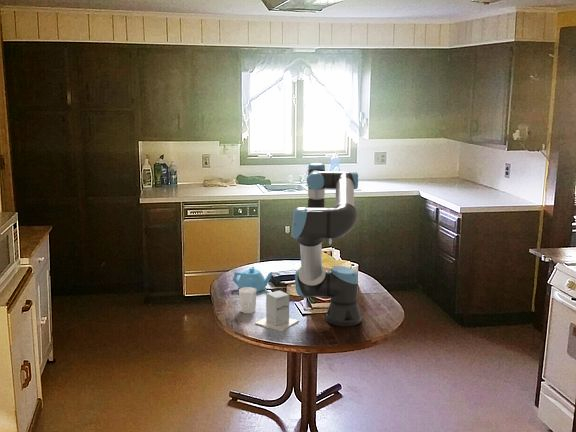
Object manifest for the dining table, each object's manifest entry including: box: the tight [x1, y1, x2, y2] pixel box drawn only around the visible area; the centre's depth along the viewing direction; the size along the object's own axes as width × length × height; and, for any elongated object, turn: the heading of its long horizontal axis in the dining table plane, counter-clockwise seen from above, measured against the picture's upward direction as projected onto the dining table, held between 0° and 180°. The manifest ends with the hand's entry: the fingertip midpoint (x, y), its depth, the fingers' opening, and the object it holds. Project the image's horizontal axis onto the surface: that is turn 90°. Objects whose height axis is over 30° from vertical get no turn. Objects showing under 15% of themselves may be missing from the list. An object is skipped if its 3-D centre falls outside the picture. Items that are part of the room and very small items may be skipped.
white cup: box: [238, 287, 257, 314], centre depth 279 cm, size 8×8×10 cm
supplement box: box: [265, 290, 290, 326], centre depth 265 cm, size 7×7×13 cm
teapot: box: [231, 266, 273, 293], centre depth 308 cm, size 15×15×11 cm
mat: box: [254, 316, 300, 333], centre depth 266 cm, size 14×13×1 cm
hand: (315, 242), depth 285 cm, fingers open, 13 cm apart
